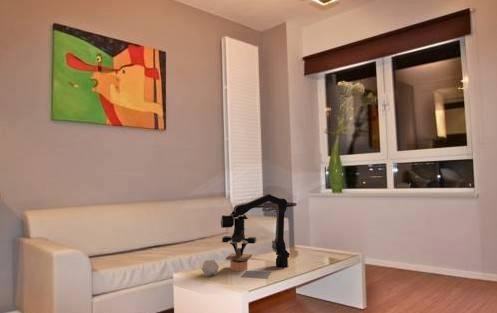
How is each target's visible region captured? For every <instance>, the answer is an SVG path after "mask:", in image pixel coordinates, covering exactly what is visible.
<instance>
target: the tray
mask: <svg viewBox="0 0 497 313" xmlns="http://www.w3.org/2000/svg"><path fill="white" fill-rule="evenodd" d="M271 273H272V271H264V270H263V271H261V270H258V271H257V270H245V271H244V272H243V274H242V275H241V276H240V278H247V279H263V280H268V278H269V277H270V276H271Z"/></svg>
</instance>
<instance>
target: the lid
mask: <svg viewBox="0 0 497 313" xmlns="http://www.w3.org/2000/svg"><path fill="white" fill-rule="evenodd" d="M241 248H242V247H237V249H236V253H231V254H229V255H228V256H227V257H226V258H225V260H226V261H231V260H242V261H248V262H249V260H250V258H252V256H253V254H251V253H250V254H249V253H243V254H242V255H241Z"/></svg>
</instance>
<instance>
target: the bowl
mask: <svg viewBox="0 0 497 313" xmlns="http://www.w3.org/2000/svg"><path fill="white" fill-rule="evenodd" d="M229 261H230V262H229V265H230V266H229V269H230V270H231V271H234V272H235V271H236V272H241V271H242V272H243V271H244V272H245V271H248V268H249V260H248V261H242V260H229Z"/></svg>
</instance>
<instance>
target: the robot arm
mask: <svg viewBox="0 0 497 313" xmlns="http://www.w3.org/2000/svg"><path fill="white" fill-rule="evenodd" d="M268 202H269V203H271V204H273V205H274V208H275V212H276V222H275V224H276V226H275V239H274V240H272V242H271V243H272V246H271V249H272V251H273V253H275V255H276V258H275V267H276V268H288V267H289V258H290V255H291V254H290V252H288V250H287V248H286V242H285V238H284V234H285V213H286V211H287V208H288V201H287V199H285V198H283V197H282V198H281V197H276V196H274V195H272V194H270V193H266V194H264V195H262V196H260V197H257V198H255V199H253V200H250V201H248V202H245V203H239V204H236V205H234V207H233V210H232V212H231V213H230V215H225V214H224V215H221V217H220V218H221V219H220V227H221V228H222V229H223V228H224V229H229V228H233V226H234V229H233V233H232V235H231V236H230V235H225V236H223V237H222V238H221V243H228V242H229V244H230V245H232V247H233V250H234V254H236V249H238V244H239V243H240V244H241V245H240V246H241V247H240V248H241V255H242V254H244V251H245V249H246V246H247V245H249V244H256V243H257V237H256V236H249V237H248V238H247V237H245V236H246V235H245V230H246V228H245V220H248V219H249V218H248V217H247V216H246V214H247V213H248V212H249V211H250V210H252V209H255V208H257V207H259V206H261V205H263V204H265V203H268Z"/></svg>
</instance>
